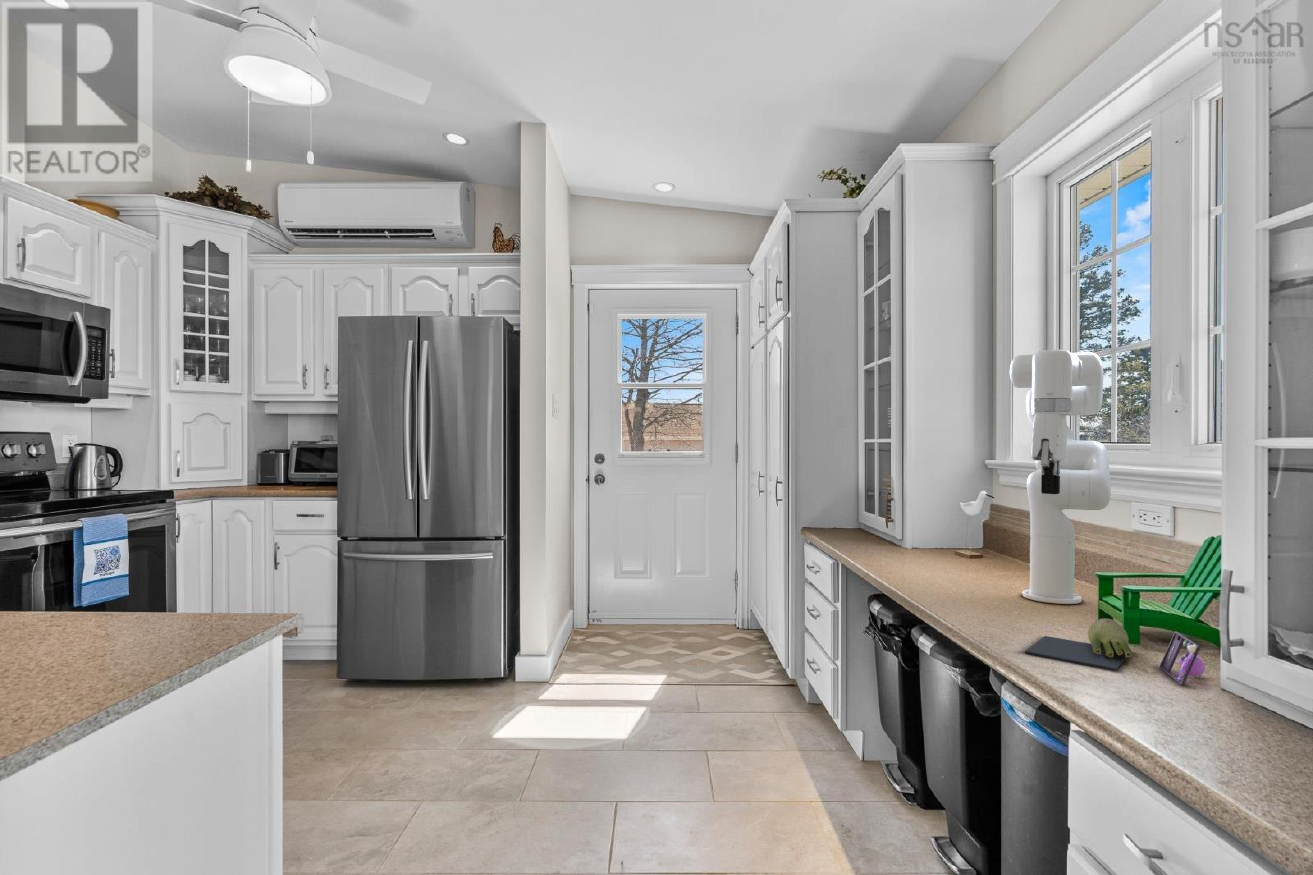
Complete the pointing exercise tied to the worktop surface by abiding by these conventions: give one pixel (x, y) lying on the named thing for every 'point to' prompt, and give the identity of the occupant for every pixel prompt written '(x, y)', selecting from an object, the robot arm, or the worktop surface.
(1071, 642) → the mat
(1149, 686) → the worktop surface
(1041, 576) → the robot arm
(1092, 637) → the fennel bulb
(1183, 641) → the purple toy package
